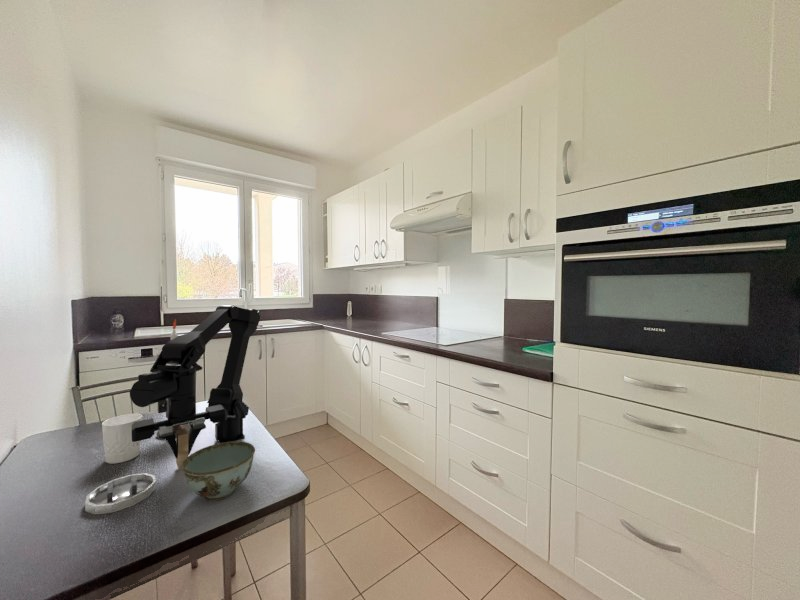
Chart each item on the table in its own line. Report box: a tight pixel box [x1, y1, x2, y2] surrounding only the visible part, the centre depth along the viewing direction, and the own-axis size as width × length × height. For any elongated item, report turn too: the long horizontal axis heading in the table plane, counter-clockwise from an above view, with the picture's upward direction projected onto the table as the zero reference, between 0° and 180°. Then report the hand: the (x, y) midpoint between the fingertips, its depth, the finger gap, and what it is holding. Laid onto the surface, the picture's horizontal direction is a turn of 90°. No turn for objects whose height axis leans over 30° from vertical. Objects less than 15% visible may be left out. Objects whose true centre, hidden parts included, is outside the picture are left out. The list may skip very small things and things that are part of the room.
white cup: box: [101, 413, 143, 464], centre depth 82 cm, size 8×8×10 cm
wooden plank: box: [175, 428, 189, 470], centre depth 76 cm, size 2×4×8 cm, turn 41°
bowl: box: [181, 440, 256, 502], centre depth 68 cm, size 14×13×8 cm
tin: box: [84, 472, 157, 515], centre depth 66 cm, size 11×11×2 cm
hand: (182, 456), depth 76 cm, fingers closed on wooden plank, 2 cm apart
